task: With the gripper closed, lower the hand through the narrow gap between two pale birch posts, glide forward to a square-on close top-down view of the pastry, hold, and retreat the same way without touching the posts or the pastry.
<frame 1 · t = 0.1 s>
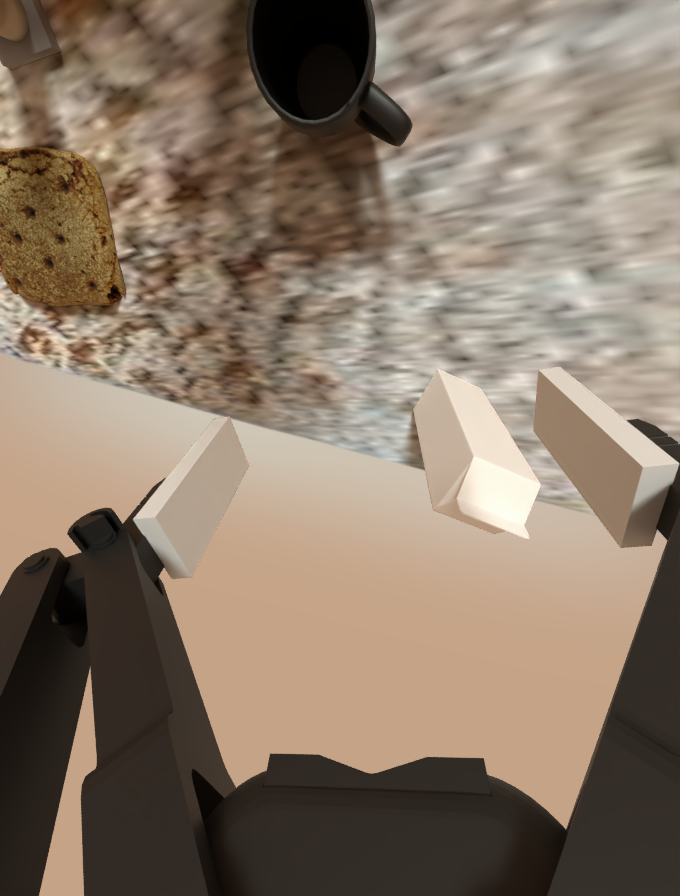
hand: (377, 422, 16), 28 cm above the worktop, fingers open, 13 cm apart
post 2: (17, 18, 30), on the worktop
pastry: (56, 231, 39), on the worktop
mug: (345, 105, 32), on the worktop
milk: (445, 398, 45), on the worktop
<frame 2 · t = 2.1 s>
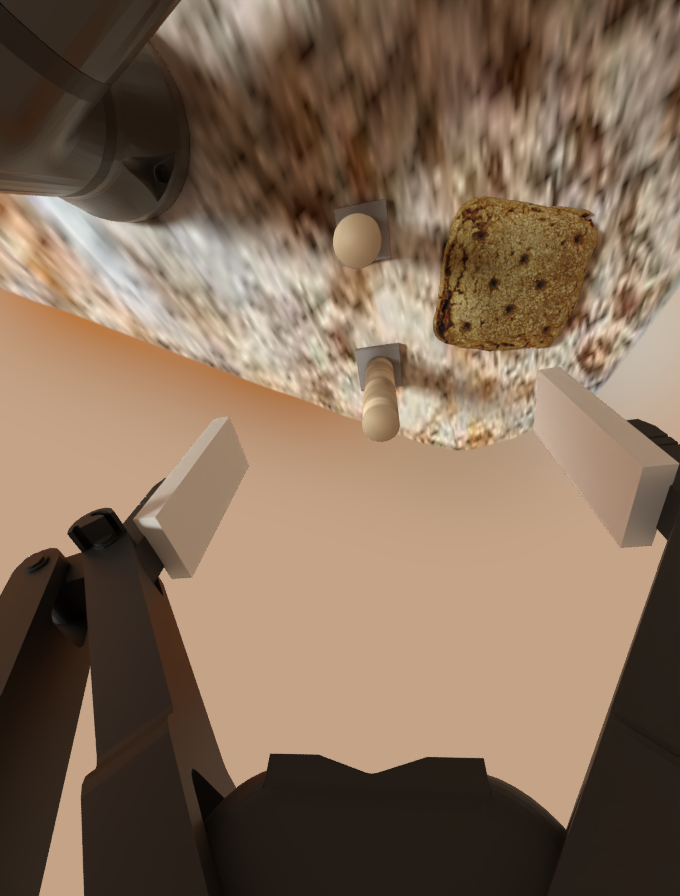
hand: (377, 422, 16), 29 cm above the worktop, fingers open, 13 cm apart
post 2: (363, 233, 37), on the worktop
post 1: (379, 366, 44), on the worktop
pastry: (504, 279, 39), on the worktop
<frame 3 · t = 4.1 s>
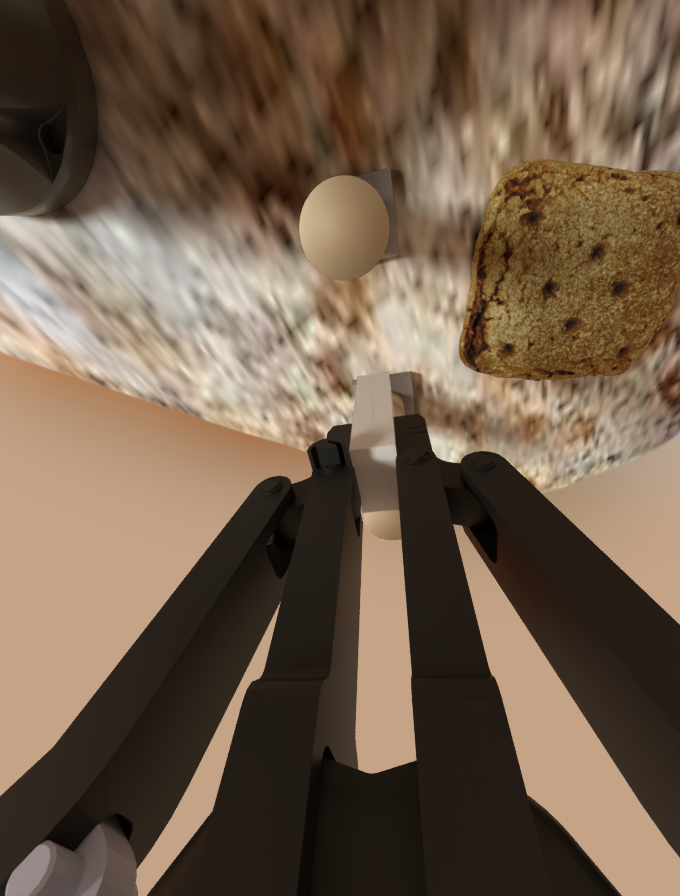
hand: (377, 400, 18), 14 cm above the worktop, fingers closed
post 2: (358, 222, 26), on the worktop
post 1: (384, 401, 33), on the worktop
pastry: (560, 281, 27), on the worktop
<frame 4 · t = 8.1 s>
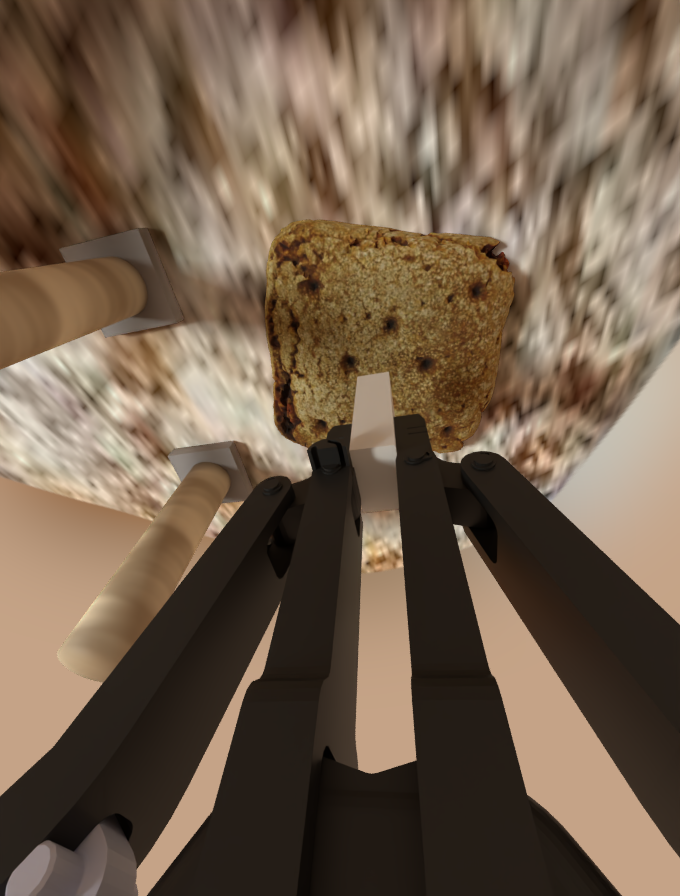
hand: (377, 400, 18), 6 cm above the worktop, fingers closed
post 2: (129, 284, 22), on the worktop
post 1: (215, 471, 29), on the worktop
pastry: (377, 349, 24), on the worktop
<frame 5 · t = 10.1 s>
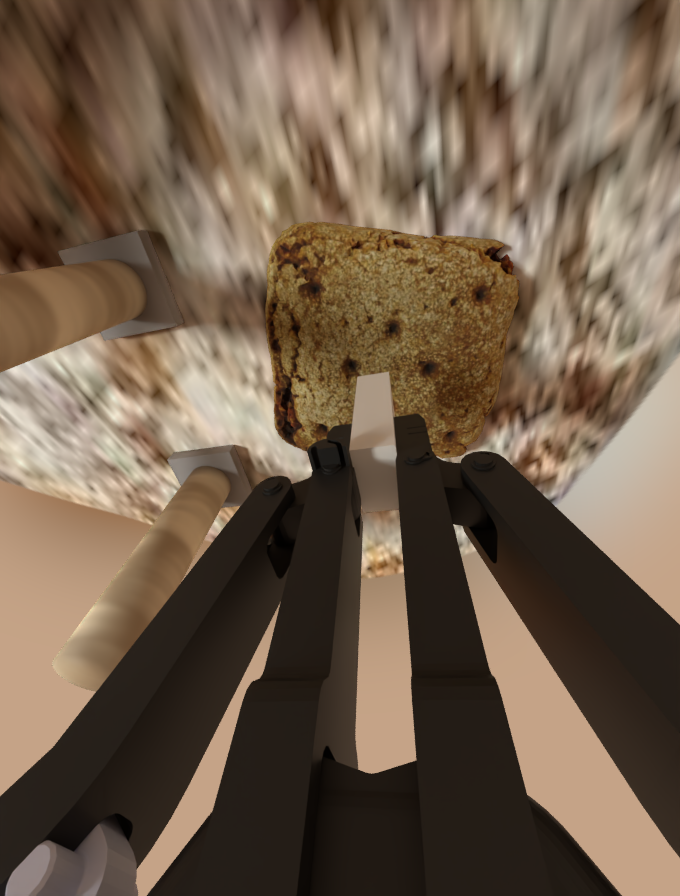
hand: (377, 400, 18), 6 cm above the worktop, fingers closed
post 2: (129, 287, 22), on the worktop
post 1: (215, 475, 29), on the worktop
pastry: (379, 353, 23), on the worktop
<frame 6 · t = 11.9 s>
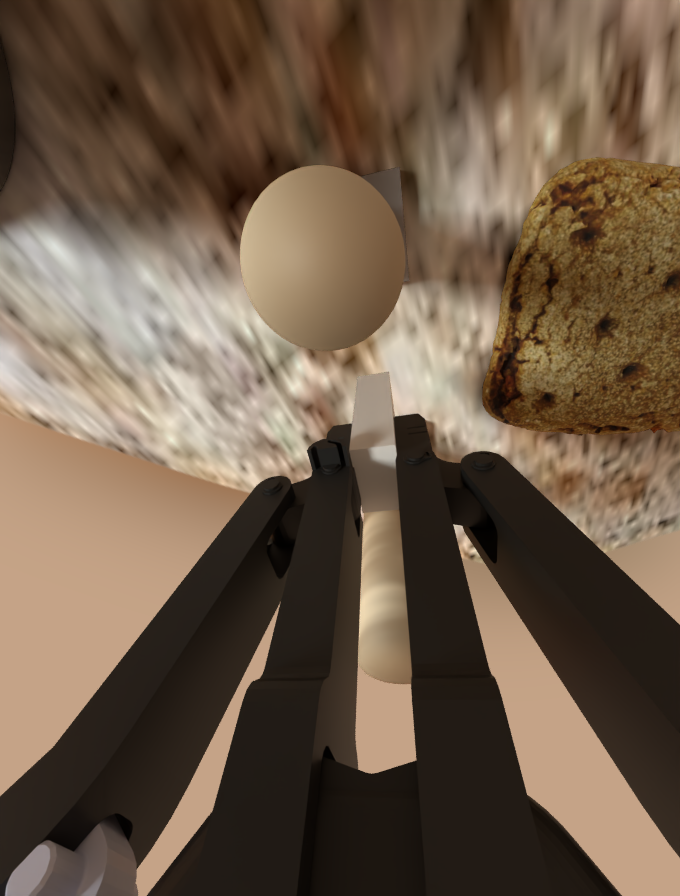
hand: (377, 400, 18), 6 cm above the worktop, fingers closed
post 2: (356, 237, 20), on the worktop
post 1: (388, 453, 27), on the worktop
pastry: (614, 314, 21), on the worktop
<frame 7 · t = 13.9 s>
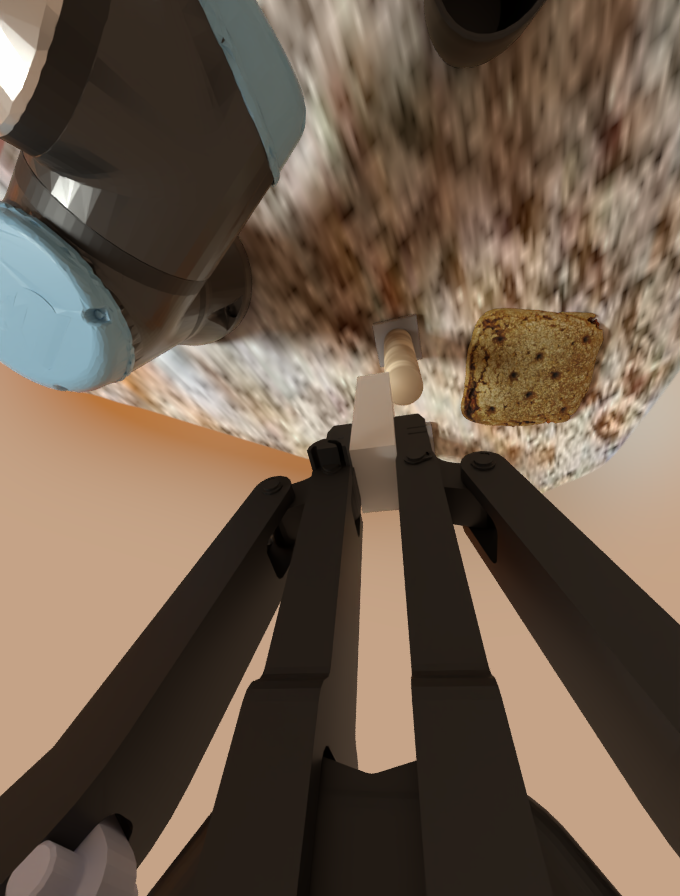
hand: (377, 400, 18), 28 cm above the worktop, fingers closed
post 2: (397, 340, 43), on the worktop
pastry: (522, 367, 44), on the worktop
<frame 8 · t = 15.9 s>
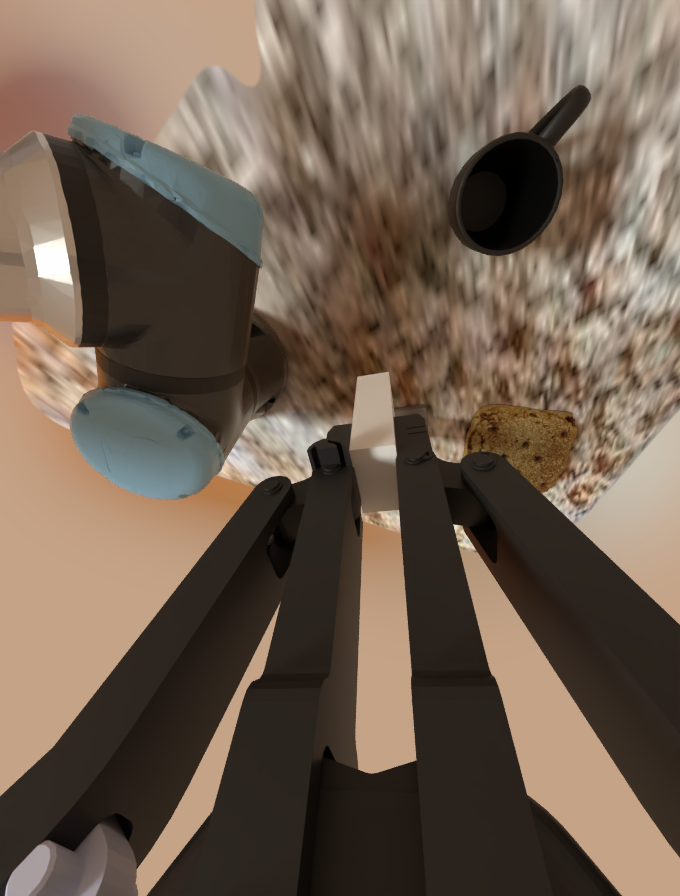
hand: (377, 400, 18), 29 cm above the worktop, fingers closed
post 2: (408, 422, 51), on the worktop
pastry: (511, 447, 53), on the worktop
mug: (493, 184, 37), on the worktop
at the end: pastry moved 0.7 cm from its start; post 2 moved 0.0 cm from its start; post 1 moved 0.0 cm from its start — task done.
